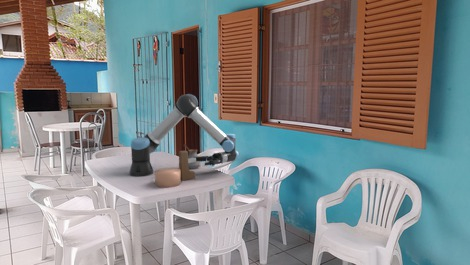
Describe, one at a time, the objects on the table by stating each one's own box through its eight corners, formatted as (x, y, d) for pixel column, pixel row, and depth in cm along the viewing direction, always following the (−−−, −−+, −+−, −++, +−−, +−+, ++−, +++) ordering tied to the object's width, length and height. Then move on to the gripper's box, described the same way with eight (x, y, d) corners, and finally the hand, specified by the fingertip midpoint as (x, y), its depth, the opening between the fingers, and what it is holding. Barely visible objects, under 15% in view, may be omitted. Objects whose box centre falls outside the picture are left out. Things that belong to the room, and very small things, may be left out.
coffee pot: (203, 168, 241) (203, 147, 239) (188, 170, 235) (188, 149, 233) (192, 162, 259) (191, 143, 257) (177, 164, 254) (177, 144, 252)
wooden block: (192, 177, 218) (192, 149, 216) (195, 178, 214) (194, 150, 212) (179, 179, 214) (178, 151, 211) (181, 180, 210) (181, 152, 207)
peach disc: (150, 183, 204) (150, 170, 203) (172, 178, 214) (171, 166, 213) (163, 189, 193) (163, 175, 192) (185, 184, 203) (185, 171, 202)
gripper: (231, 166, 221) (205, 172, 207) (207, 160, 239) (182, 165, 225) (231, 155, 220) (205, 160, 206) (207, 150, 238) (182, 154, 224)
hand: (193, 162), depth 215 cm, fingers open, 13 cm apart
